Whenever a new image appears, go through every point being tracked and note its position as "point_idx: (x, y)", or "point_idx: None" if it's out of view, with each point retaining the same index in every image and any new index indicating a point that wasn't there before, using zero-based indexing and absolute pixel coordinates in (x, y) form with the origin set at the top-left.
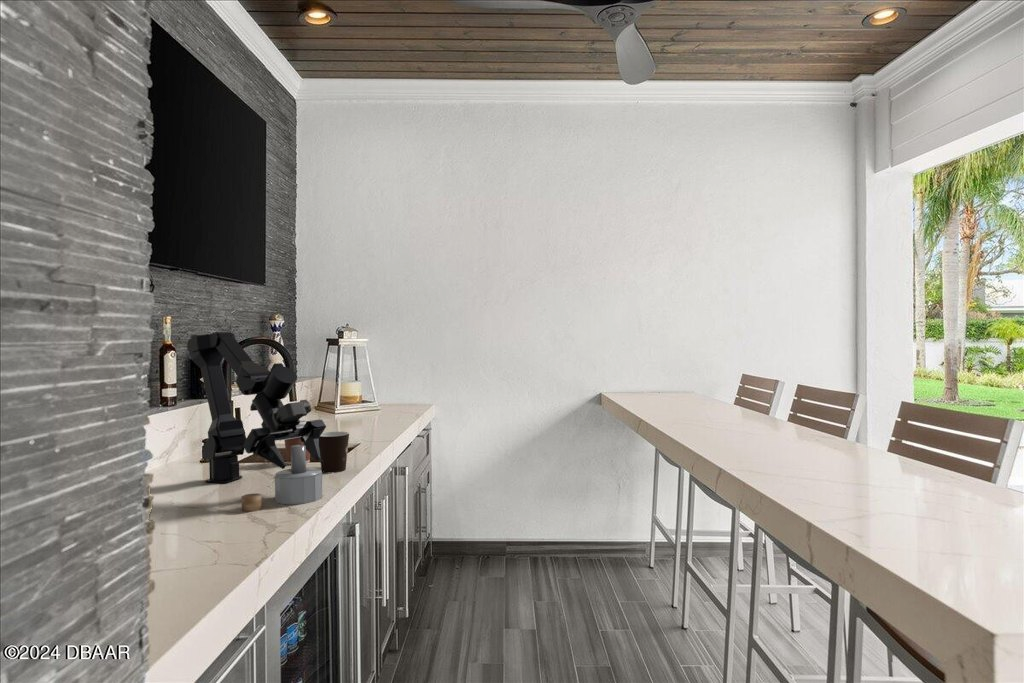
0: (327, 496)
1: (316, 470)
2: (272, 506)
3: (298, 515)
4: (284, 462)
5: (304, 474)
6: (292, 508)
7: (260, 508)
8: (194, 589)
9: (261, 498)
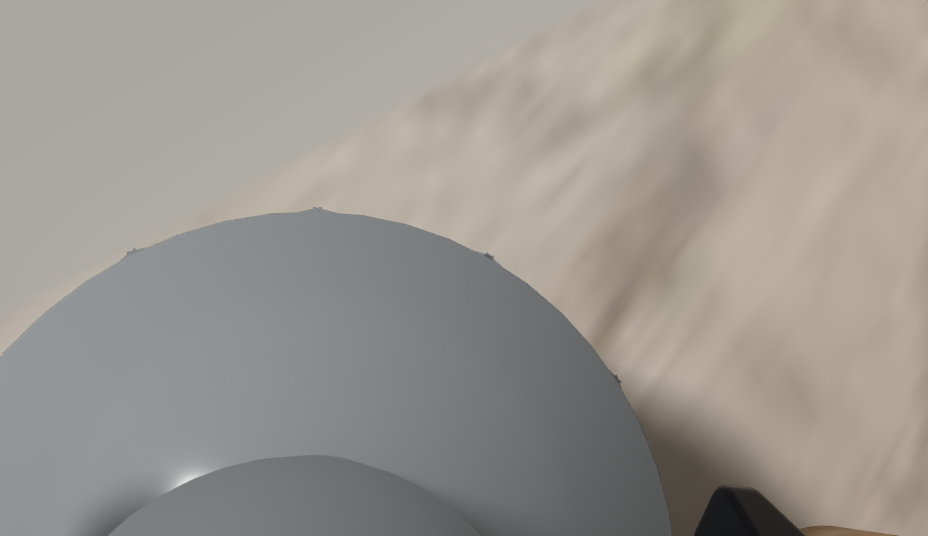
0: None
1: (72, 401)
2: None
3: (715, 75)
4: (753, 531)
5: (393, 345)
6: (609, 285)
7: None
8: None
9: None
